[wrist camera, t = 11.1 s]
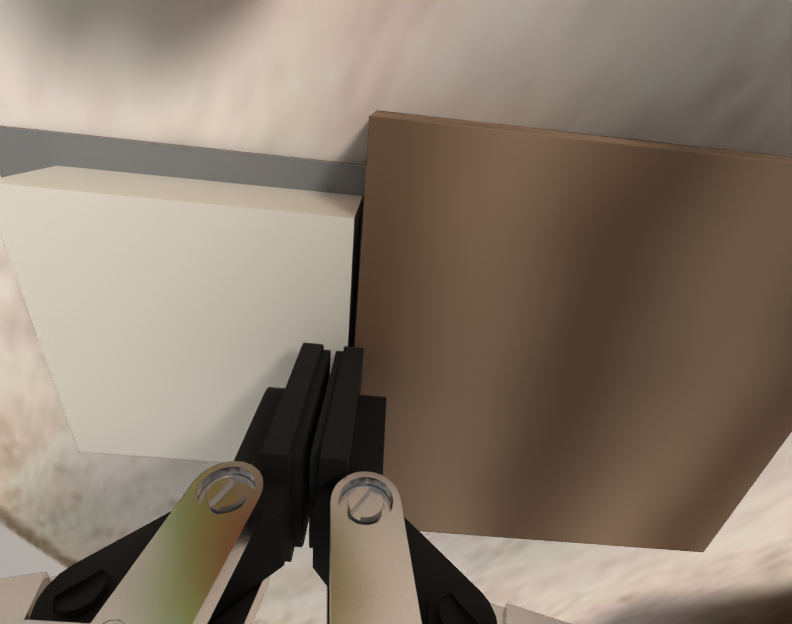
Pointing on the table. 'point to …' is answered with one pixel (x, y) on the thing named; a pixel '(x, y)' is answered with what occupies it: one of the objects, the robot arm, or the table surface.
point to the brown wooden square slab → (573, 329)
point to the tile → (176, 299)
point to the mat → (176, 163)
